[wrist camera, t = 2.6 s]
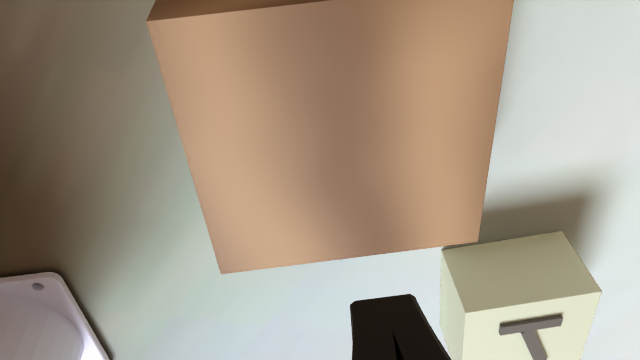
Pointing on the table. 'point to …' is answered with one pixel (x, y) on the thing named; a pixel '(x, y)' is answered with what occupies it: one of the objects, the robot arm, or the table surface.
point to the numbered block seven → (516, 300)
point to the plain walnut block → (333, 121)
